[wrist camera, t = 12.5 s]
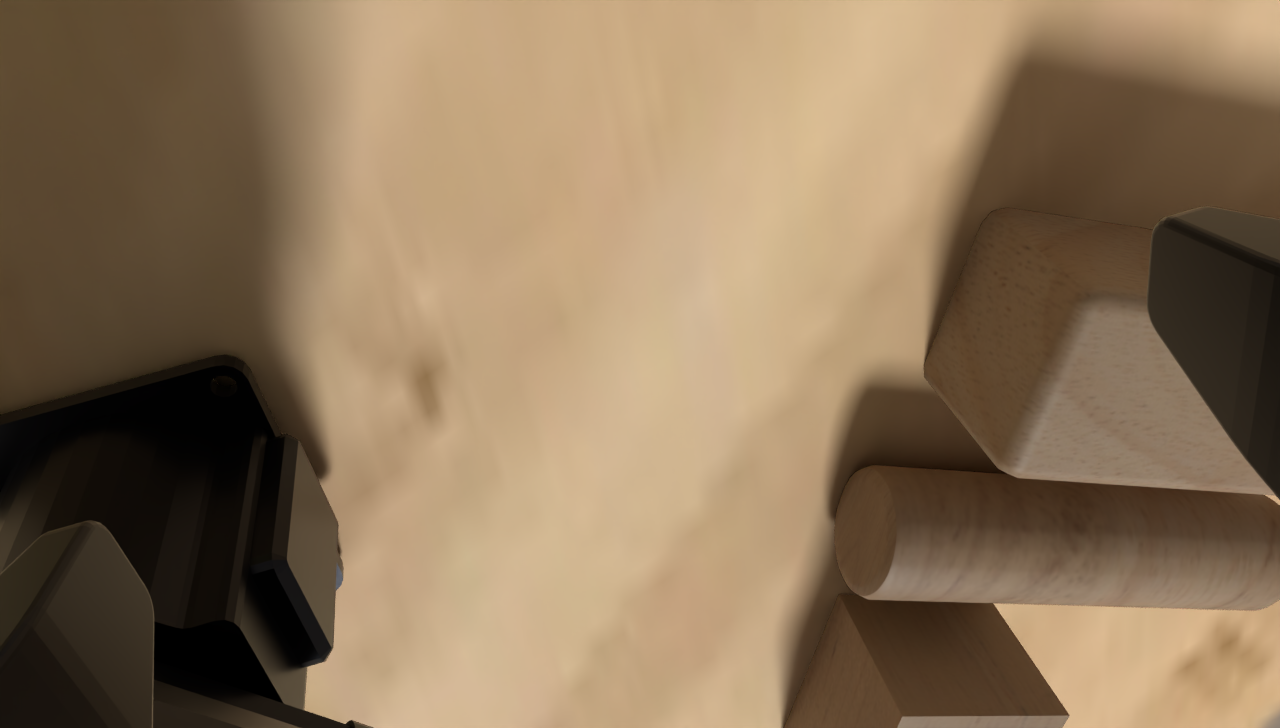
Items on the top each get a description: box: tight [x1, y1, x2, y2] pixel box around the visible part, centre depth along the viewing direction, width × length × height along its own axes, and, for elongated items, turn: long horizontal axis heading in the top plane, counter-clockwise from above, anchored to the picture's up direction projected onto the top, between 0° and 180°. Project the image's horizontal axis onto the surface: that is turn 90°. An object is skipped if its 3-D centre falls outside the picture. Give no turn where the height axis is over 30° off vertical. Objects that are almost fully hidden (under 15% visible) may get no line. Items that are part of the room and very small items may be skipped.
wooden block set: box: [784, 208, 1280, 728], centre depth 29 cm, size 17×6×18 cm
